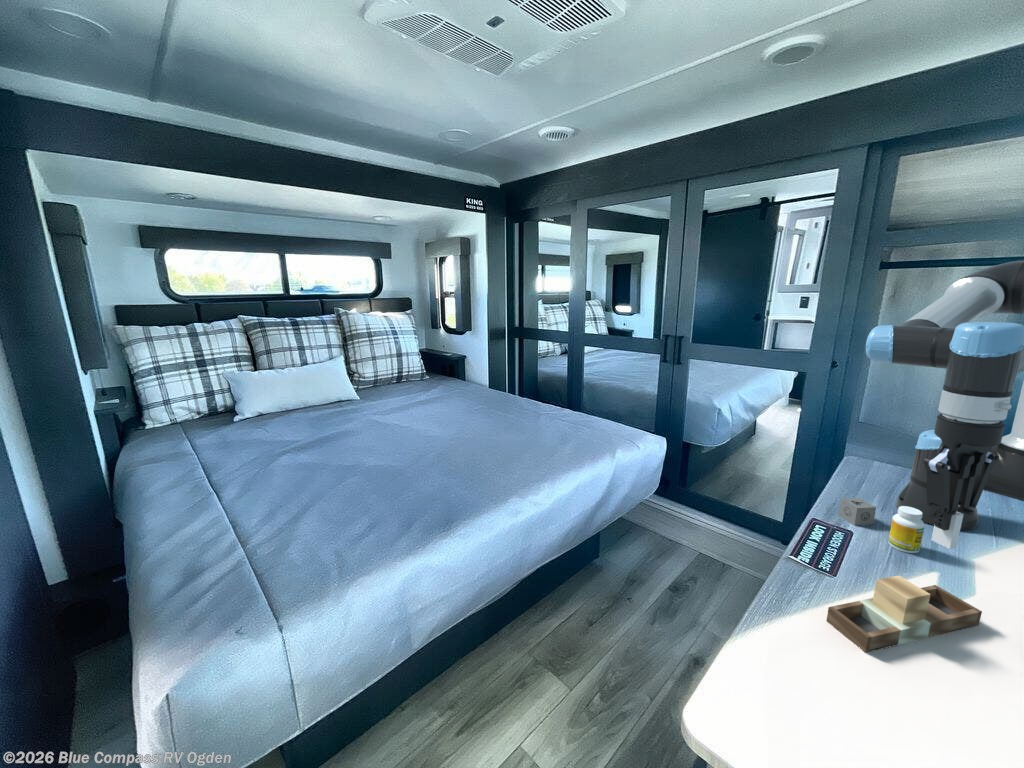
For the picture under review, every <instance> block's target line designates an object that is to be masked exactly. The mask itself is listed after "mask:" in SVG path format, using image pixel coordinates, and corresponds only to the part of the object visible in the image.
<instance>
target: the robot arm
mask: <svg viewBox="0 0 1024 768" xmlns="http://www.w3.org/2000/svg"><path fill="white" fill-rule="evenodd" d="M991 314H1012V315H1013V314H1014V315H1024V260H1015V261H1009V262H1004V263H1000V264H996V265H992V266H989V267H986V268H983V269H980V270H977V271H975V272H972V273H969V274H967V275H965V276H964V277H962V278H960V279H958V280H957V281H955V282H953V283H952V284H951V285H950V286H948V287H947V288H946V290H945V291H944V294H943V295H942V296H941V297H940V298H938V299H937V300H935V301H934V302H933V303H931V304H929V305H928V306H926V307H925V308H923V309H922V310H921V311H919V312H917V313H916V314H915V315H913V316H912V317H910V318H909V319H907V320H906V321H904V322H903V323H902V324H900V325H894V324H889V325H877V326H875V327H873V328H872V329H871V331H870V332H869V334H868V335H867V339H866V342H865V354H866V356H867V358H868V359H869V360H871V361H874V362H881V363H887V364H889V365H891V364H893V365H906V366H916V367H925V368H926V367H927V368H936V369H937V368H938V369H945V370H946V371H945V376H944V379H943V380H944V381H943V386H942V391H941V394H940V400H939V403H938V404H939V405H938V409H937V411H939V414H937V416H936V419H935V420H936V421H935V426H934V429H929V430H925V431H922V432H921V433H920V434H919V436H918V439H917V442H916V445H915V446H914V449H915V451H914V457H913V462H912V467H911V472H910V473H911V474H910V476H909V477H910V478H909V481H908V483H907V484H906V485H905V486H904V488H903V489H902V491H901V492H900V493H899V495H898V496H897V498H896V504H895V506H896V508H897V509H898V508H899V507H900V506H908V507H912V508H915V509H918V510H920V511H921V512H922V513H923V514H922V519H921V520H922V521H923V523H924V524H928V523H929V524H928V525H931V524H932V526H933V530H932V535H931V539H930V540H931V541H932V542H934V543H936V544H938V545H940V546H941V547H942V546H943V547H944V548H947V549H948V550H952V549H956V548H957V545H958V542H959V536H960V533H961V531H970V530H974V529H976V528H977V527H978V524H979V520H980V519H979V518H980V517H979V513H978V509H977V505H978V503H979V501H980V498H981V496H982V494H983V492H984V491H985V492H989V493H993V494H995V495H999V496H1002V497H1007V498H1010V499H1013V500H1018V501H1021V502H1024V380H1023V381H1022V386H1021V390H1020V395H1019V398H1018V402H1017V406H1016V411H1015V415H1014V420H1013V423H1012V427H1011V431H1010V433H1009V434H1006V435H1004V433H1005V432H1004V431H1005V427H1006V425H1005V423H1004V422H1003V421H1005V420H1006V419H1007V417H1008V412H1009V410H1010V409H1011V410H1012V408H1013V407H1012V404H1011V399H1012V395H1013V390H1014V386H1015V382H1016V379H1017V376H1018V373H1021V372H1024V325H1023V324H1020V323H1016V322H1006V321H1005V322H1004V321H1003V322H1001V321H976V320H977V319H978V318H983V317H986V316H989V315H991Z"/></svg>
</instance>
